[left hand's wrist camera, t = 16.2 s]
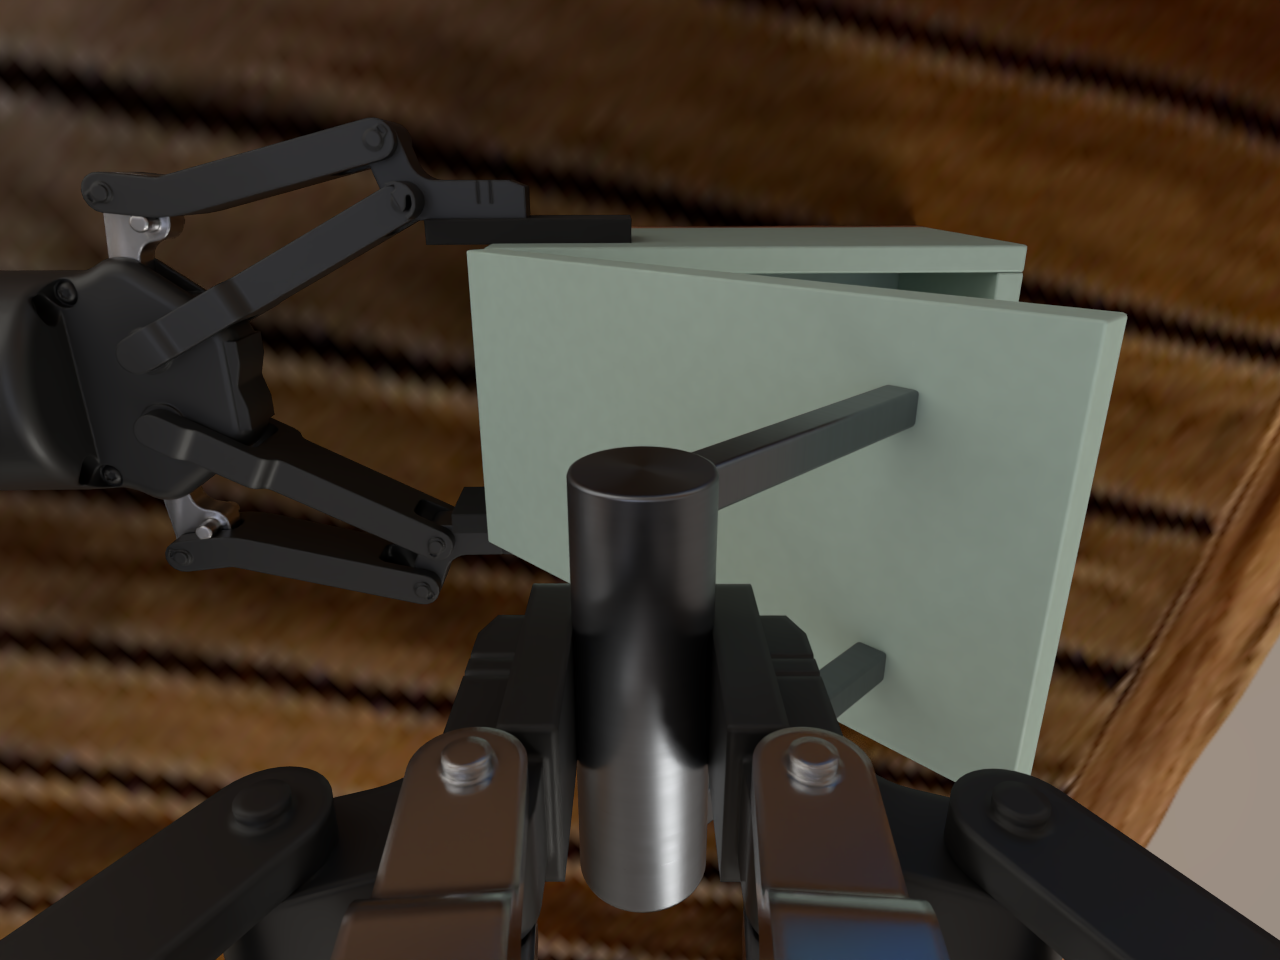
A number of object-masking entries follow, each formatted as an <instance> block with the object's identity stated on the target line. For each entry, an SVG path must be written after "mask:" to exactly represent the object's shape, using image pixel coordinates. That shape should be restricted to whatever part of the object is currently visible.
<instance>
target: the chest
mask: <svg viewBox="0 0 1280 960" xmlns="http://www.w3.org/2000/svg"><path fill="white" fill-rule="evenodd" d="M492 248H496V249H506V250H516V251H525V252H535V253H545V254H555V255H565V256H574V257H584V258H594V259H604V260H613V261H623V262H633V263H643V264H653V265H662V266H672V267H682V268H692V269H702V270H711V271H721V272H731V273H741V274H750V275H760V276H770V277H780V278H790V279H799V280H809V281H819V282H829V283H838V284H848V285H858V286H868V287H878V288H887V289H897V290H907V291H917V292H926V293H936V294H946V295H956V296H966V297H975V298H985V299H995V300H1005V301H1014V302H1018V301H1019V295H1020V289H1021V283H1022V276H1023V274H1022V273H1021V272H1022V271H1023V269H1024V263H1025V257H1026V251H1027V246H1026V245H1023V244H1017V243H1011V242H1005V241H1000V240H994V239H988V238H983V237H977V236H971V235H966V234H960V233H954V232H948V231H943V230H937V229H931V228H926V227H923V226H918V225H891V226H631V243H533V244H491V245H489V246H488V247H486V248H485V249H492Z"/></svg>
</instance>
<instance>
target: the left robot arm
mask: <svg viewBox="0 0 1280 960" xmlns="http://www.w3.org/2000/svg"><path fill="white" fill-rule="evenodd" d="M707 765H708V774H709V783H710V792H711V801H712V810H713V819H714V828H715V837H716V846H717V855H718V864H719V873H720V881H721V882H741V887H742V894H743V901H744V910H743V927H742V951H743V960H1062V958H1063V959H1065V960H1280V940H1278V939H1277V938H1275V937H1274V936H1272V935H1271V934H1270V933H1268V932H1267V931H1265V930H1264V929H1262V928H1261V927H1259V926H1258V925H1256V924H1255V923H1253V922H1252V921H1250V920H1249V919H1248V918H1246V917H1245V916H1243V915H1242V914H1240V913H1239V912H1237V911H1236V910H1234V909H1233V908H1231V907H1230V906H1229V905H1227V904H1226V903H1224V902H1223V901H1221V900H1220V899H1218V898H1217V897H1215V896H1214V895H1212V894H1211V893H1209V892H1208V891H1207V890H1205V889H1204V888H1202V887H1201V886H1199V885H1198V884H1196V883H1195V882H1193V881H1192V880H1190V879H1189V878H1187V877H1186V876H1185V875H1183V874H1182V873H1180V872H1179V871H1177V870H1176V869H1174V868H1173V867H1171V866H1170V865H1169V864H1167V863H1166V862H1164V861H1163V860H1161V859H1160V858H1158V857H1157V856H1155V855H1154V854H1152V853H1151V852H1149V851H1148V850H1147V849H1145V848H1144V847H1142V846H1141V845H1139V844H1138V843H1136V842H1135V841H1133V840H1132V839H1130V838H1129V837H1128V836H1126V835H1125V834H1123V833H1122V832H1120V831H1119V830H1117V829H1116V828H1114V827H1113V826H1111V825H1110V824H1108V823H1107V822H1106V821H1104V820H1103V819H1101V818H1100V817H1098V816H1097V815H1095V814H1094V813H1092V812H1091V811H1089V810H1088V809H1087V808H1085V807H1084V806H1082V805H1081V804H1079V803H1078V802H1076V801H1075V800H1073V799H1072V798H1070V797H1069V796H1067V795H1066V794H1065V793H1063V792H1062V791H1060V790H1059V789H1057V788H1055V787H1054V786H1052V785H1050V784H1048V783H1046V782H1044V781H1042V780H1040V779H1038V778H1035V777H1033V776H1030V775H1028V774H1024V773H1020V772H1017V771H1012V770H1006V769H994V768H993V769H981V770H975V771H972V772H969V773H967V774H965V775H963V776H962V777H960V778H959V779H958V780H957V781H956V782H955V783H954V785H953V787H952V789H951V795H950V798H949V797H945V796H941V795H937V794H932V793H928V792H924V791H919V790H915V789H911V788H908V787H904V786H900V785H898V784H895V783H893V782H890V781H888V780H886V779H884V778H882V777H880V776H878V775H876V774H875V771H874V768H873V765H872V763H871V761H870V759H869V758H868V756H867V755H866V754H865V752H864V751H863V750H862V749H861V748H860V747H858V746H857V745H856V744H855V743H853V742H852V741H850V740H848V739H847V738H845V737H843V735H842V732H841V729H840V726H839V724H838V721H837V718H836V715H835V712H834V710H833V707H832V704H831V701H830V699H829V696H828V693H827V690H826V687H825V685H824V682H823V679H822V676H820V671H819V668H818V665H817V662H816V660H815V659H814V654H813V651H812V648H811V646H810V643H809V640H808V637H807V635H806V633H805V632H804V631H803V630H802V629H801V628H799V627H798V626H797V625H796V624H795V623H794V622H793V621H792V620H791V619H789V618H788V617H787V616H786V615H759V611H758V607H757V603H756V600H755V596H754V592H753V589H752V585H751V584H716V586H715V615H714V625H713V628H712V646H711V674H710V702H709V730H708V758H707ZM576 769H577V732H576V703H575V675H574V646H573V625H572V617H571V590H570V584H533V586H532V590H531V593H530V597H529V601H528V605H527V609H526V613H525V615H498V616H497V617H496V618H495V619H494V620H492V621H491V622H490V623H489V624H488V625H487V626H486V627H485V628H484V629H483V630H481V631H480V632H479V633H478V636H477V639H476V641H475V644H474V647H473V650H472V653H471V658H470V659H469V661H468V664H467V667H466V670H465V676H463V679H462V681H461V684H460V687H459V690H458V693H457V696H456V699H455V701H454V704H453V707H452V710H451V713H450V716H449V719H448V721H447V724H446V727H445V730H444V733H443V734H442V735H439V736H437V737H435V738H433V739H432V740H430V741H428V742H427V743H426V744H424V745H423V746H422V747H420V748H419V749H418V751H417V752H416V753H415V754H414V755H413V756H412V758H411V759H410V761H409V763H408V766H407V768H406V772H405V776H404V778H402V779H400V780H398V781H395V782H392V783H390V784H387V785H384V786H381V787H377V788H374V789H369V790H365V791H361V792H357V793H352V794H348V795H344V796H339V797H335V798H333V794H332V788H331V786H330V784H329V782H328V780H327V779H326V778H325V777H324V776H323V775H321V774H319V773H318V772H316V771H313V770H311V769H307V768H302V767H290V766H289V767H277V768H271V769H266V770H262V771H259V772H255V773H253V774H250V775H247V776H245V777H243V778H241V779H239V780H236V781H234V782H233V783H231V784H229V785H228V786H226V787H224V788H223V789H221V790H220V791H218V792H217V793H215V794H214V795H213V796H211V797H210V798H208V799H207V800H205V801H204V802H202V803H201V804H199V805H198V806H196V807H195V808H194V809H192V810H191V811H189V812H188V813H186V814H185V815H183V816H182V817H180V818H179V819H177V820H176V821H174V822H173V823H172V824H170V825H169V826H167V827H166V828H164V829H163V830H161V831H160V832H158V833H157V834H155V835H154V836H153V837H151V838H150V839H148V840H147V841H145V842H144V843H142V844H141V845H139V846H138V847H136V848H135V849H133V850H132V851H131V852H129V853H128V854H126V855H125V856H123V857H122V858H120V859H119V860H117V861H116V862H114V863H113V864H112V865H110V866H109V867H107V868H106V869H104V870H103V871H101V872H100V873H98V874H97V875H95V876H94V877H92V878H91V879H90V880H88V881H87V882H85V883H84V884H82V885H81V886H79V887H78V888H76V889H75V890H73V891H72V892H71V893H69V894H68V895H66V896H65V897H63V898H62V899H60V900H59V901H57V902H56V903H54V904H53V905H51V906H50V907H49V908H47V909H46V910H44V911H43V912H41V913H40V914H38V915H37V916H35V917H34V918H32V919H31V920H29V921H28V922H27V923H25V924H24V925H22V926H21V927H19V928H18V929H16V930H15V931H13V932H12V933H10V934H9V935H8V936H6V937H5V938H3V939H2V940H0V960H215V959H217V958H218V957H219V956H220V955H221V954H222V953H223V954H224V958H225V960H537V954H538V925H537V919H538V917H539V914H540V910H541V905H542V898H543V890H544V883H545V881H565V874H566V864H567V854H568V845H569V835H570V826H571V816H572V807H573V797H574V788H575V778H576Z"/></svg>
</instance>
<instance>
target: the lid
mask: <svg viewBox="0 0 1280 960" xmlns="http://www.w3.org/2000/svg"><path fill="white" fill-rule="evenodd" d="M467 262H468V276H469V289H470V302H471V315H472V329H473V342H474V355H475V368H476V381H477V395H478V408H479V421H480V434H481V448H482V461H483V474H484V487H485V500H486V514H487V527H488V540H489V542H491V543H493V544H495V545H497V546H498V547H500V548H502V549H504V550H506V551H508V552H510V553H512V554H514V555H516V556H518V557H520V558H522V559H524V560H526V561H528V562H529V563H531V564H533V565H535V566H537V567H539V568H541V569H543V570H545V571H547V572H549V573H551V574H553V575H555V576H557V577H559V578H561V579H562V580H564V581H566V582H568V583H570V590H571V617H572V625H573V646H574V675H575V703H576V732H577V780H578V807H579V835H580V862H581V870H582V873H583V876H584V879H585V880H586V882H587V884H588V886H589V887H590V888H591V890H592V891H593V892H594V893H595V894H596V895H597V896H598V897H599V898H601V899H602V900H603V901H605V902H606V903H608V904H610V905H612V906H614V907H616V908H619V909H622V910H626V911H632V912H643V913H644V912H655V911H661V910H664V909H667V908H670V907H672V906H675V905H677V904H678V903H680V902H682V901H683V900H685V899H686V898H687V897H689V896H690V895H691V893H692V892H693V891H694V890H695V889H696V887H697V886H698V885H699V883H700V881H701V879H702V877H703V874H704V871H705V866H706V842H707V824H708V823H710V822H711V821H712V820H713V810H712V801H711V792H710V783H709V774H708V765H707V758H708V730H709V702H710V674H711V646H712V628H713V625H714V615H715V586H716V584H751V585H752V589H753V592H754V596H755V600H756V603H757V607H758V611H759V615H786V616H787V617H788V618H789V619H791V620H792V621H793V622H794V623H795V624H796V625H797V626H798V627H799V628H801V629H802V630H803V631H804V632H805V633H806V635H807V637H808V640H809V643H810V646H811V648H812V651H813V654H814V659H815V660H816V662H817V665H818V668H819V671H820V676H822V679H823V682H824V685H825V687H826V690H827V693H828V696H829V699H830V701H831V704H832V707H833V710H834V712H835V715H836V718H837V721H838V722H840V723H842V724H844V725H846V726H848V727H850V728H852V729H854V730H855V731H857V732H859V733H861V734H863V735H865V736H867V737H869V738H871V739H873V740H875V741H877V742H879V743H881V744H883V745H885V746H887V747H888V748H890V749H892V750H894V751H896V752H898V753H900V754H902V755H904V756H906V757H908V758H910V759H912V760H914V761H916V762H918V763H919V764H921V765H923V766H925V767H927V768H929V769H931V770H933V771H935V772H937V773H939V774H941V775H943V776H945V777H947V778H949V779H951V780H952V781H954V782H956V781H957V780H958V779H959V778H960V777H962V776H963V775H965V774H967V773H969V772H972V771H975V770H981V769H993V768H994V769H1006V770H1012V771H1017V772H1020V773H1024V774H1028V775H1031V770H1032V766H1033V761H1034V756H1035V752H1036V747H1037V742H1038V737H1039V733H1040V728H1041V723H1042V718H1043V714H1044V709H1045V704H1046V699H1047V695H1048V690H1049V685H1050V680H1051V676H1052V671H1053V666H1054V662H1055V657H1056V652H1057V647H1058V643H1059V638H1060V633H1061V628H1062V624H1063V619H1064V614H1065V609H1066V605H1067V600H1068V595H1069V590H1070V586H1071V581H1072V576H1073V572H1074V567H1075V562H1076V557H1077V553H1078V548H1079V543H1080V538H1081V534H1082V529H1083V524H1084V519H1085V515H1086V510H1087V505H1088V500H1089V496H1090V491H1091V486H1092V482H1093V477H1094V472H1095V467H1096V463H1097V458H1098V453H1099V448H1100V444H1101V439H1102V434H1103V429H1104V425H1105V420H1106V415H1107V410H1108V406H1109V401H1110V396H1111V392H1112V387H1113V382H1114V377H1115V373H1116V368H1117V363H1118V358H1119V354H1120V349H1121V344H1122V339H1123V335H1124V330H1125V325H1126V320H1127V315H1126V314H1125V313H1122V312H1112V311H1102V310H1093V309H1083V308H1073V307H1063V306H1054V305H1044V304H1034V303H1024V302H1014V301H1005V300H995V299H985V298H975V297H966V296H956V295H946V294H936V293H926V292H917V291H907V290H897V289H887V288H878V287H868V286H858V285H848V284H838V283H829V282H819V281H809V280H799V279H790V278H780V277H770V276H760V275H750V274H741V273H731V272H721V271H711V270H702V269H692V268H682V267H672V266H662V265H653V264H643V263H633V262H623V261H613V260H604V259H594V258H584V257H574V256H565V255H555V254H545V253H535V252H525V251H516V250H506V249H496V248H492V249H479V250H469V251H467Z"/></svg>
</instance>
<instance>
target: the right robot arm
mask: <svg viewBox="0 0 1280 960" xmlns="http://www.w3.org/2000/svg"><path fill="white" fill-rule="evenodd" d="M369 169H371V170H372V172H373V174H374V177H375V179H376V181H377V183H378V185H379V188H380V190H378V191H376V192H375V193H373V194H371V195H370V196H368V197H366V198H365V199H363V200H361V201H360V202H358V203H356V204H355V205H353V206H351V207H350V208H348V209H346V210H345V211H343V212H341V213H340V214H338V215H336V216H335V217H333V218H331V219H330V220H328V221H326V222H325V223H323V224H321V225H319V226H318V227H316V228H314V229H313V230H311V231H309V232H308V233H306V234H304V235H303V236H301V237H299V238H298V239H296V240H294V241H293V242H291V243H289V244H288V245H286V246H284V247H283V248H281V249H279V250H278V251H276V252H274V253H273V254H271V255H269V256H268V257H266V258H264V259H262V260H261V261H259V262H257V263H256V264H254V265H252V266H251V267H249V268H247V269H246V270H244V271H242V272H241V273H239V274H237V275H236V276H234V277H232V278H230V279H228V280H226V281H224V282H222V283H220V284H218V285H216V286H214V287H212V288H210V289H208V290H205V289H204V288H202V287H201V286H199V285H198V284H196V283H194V282H193V281H191V280H190V279H188V278H186V277H185V276H183V275H182V274H180V273H179V272H177V271H175V270H174V269H172V268H171V267H169V266H168V265H166V264H164V263H163V262H161V261H160V260H158V259H156V258H155V249H156V247H157V245H158V244H159V243H160V242H162V241H163V240H167V239H173V238H176V237H177V236H179V235H180V234H181V232H182V230H183V228H184V224H185V218H184V216H183V215H193V214H204V213H211V212H216V211H221V210H225V209H228V208H232V207H236V206H239V205H243V204H246V203H250V202H254V201H257V200H261V199H264V198H268V197H272V196H275V195H279V194H282V193H286V192H290V191H293V190H297V189H300V188H304V187H308V186H311V185H315V184H318V183H322V182H326V181H329V180H333V179H336V178H340V177H344V176H347V175H351V174H354V173H358V172H362V171H365V170H369ZM81 192H82V195H83V198H84V200H85V201H86V202H87V204H88V205H89V206H90V207H91V208H93V209H94V210H96V211H99V212H102V213H103V214H104V222H105V230H106V237H107V245H108V253H109V258H108V259H106V260H103V261H101V262H100V263H98V264H97V265H96V266H94V267H93V268H91V269H88V270H51V271H0V490H65V489H101V488H115V487H127V488H132V489H136V490H139V491H141V492H144V493H146V494H148V495H151V496H153V497H155V498H159V499H164V502H165V505H166V508H167V511H168V514H169V517H170V520H171V523H172V526H173V529H174V531H175V534H176V538H177V539H176V540H175V541H174V542H173V543H172V544H171V545H169V546H168V547H167V549H166V552H165V554H166V559H167V561H168V563H169V564H170V565H171V566H172V567H173V568H175V569H177V570H179V571H197V570H206V569H215V568H224V567H237V568H242V569H247V570H252V571H257V572H262V573H268V574H273V575H278V576H283V577H288V578H293V579H298V580H303V581H308V582H313V583H318V584H323V585H328V586H333V587H338V588H343V589H348V590H353V591H358V592H363V593H368V594H373V595H378V596H383V597H388V598H393V599H398V600H404V601H409V602H414V603H419V604H429V603H432V602H433V601H435V600H436V599H437V597H438V595H439V592H440V590H441V588H442V586H443V583H444V581H445V579H446V576H447V574H448V571H449V568H450V566H451V562H452V560H453V559H455V558H456V557H459V556H461V555H477V554H512V553H510V552H508V551H506V550H504V549H502V548H500V547H498V546H497V545H495V544H493V543H491V542H489V540H488V527H487V514H486V500H485V487H464V489H463V491H462V493H461V495H460V497H459V499H458V501H457V503H456V505H455V507H454V506H452V505H450V504H447V503H445V502H443V501H441V500H438V499H436V498H434V497H432V496H430V495H427V494H425V493H423V492H421V491H419V490H416V489H414V488H412V487H410V486H407V485H405V484H403V483H401V482H399V481H396V480H394V479H392V478H390V477H388V476H385V475H383V474H381V473H379V472H376V471H374V470H372V469H370V468H368V467H365V466H363V465H361V464H359V463H357V462H354V461H352V460H350V459H348V458H345V457H343V456H341V455H339V454H337V453H334V452H332V451H330V450H328V449H326V448H323V447H321V446H319V445H317V444H314V443H312V442H310V441H308V440H306V439H304V438H303V437H302V435H301V433H300V432H299V431H298V430H296V429H295V428H293V427H290V426H288V425H286V424H284V423H282V422H279V421H277V420H275V419H273V418H271V417H272V416H273V415H274V409H273V403H272V397H271V393H270V391H269V389H268V387H267V384H266V382H265V380H264V378H263V375H262V365H263V356H264V349H263V343H262V338H261V332H260V331H254V330H253V328H252V326H251V324H250V323H249V321H251V320H252V319H254V318H256V317H257V316H259V315H261V314H263V313H264V312H266V311H268V310H269V309H271V308H273V307H275V306H276V305H278V304H279V303H281V302H282V301H283V300H285V299H286V298H288V297H290V296H292V295H293V294H295V293H297V292H298V291H300V290H302V289H303V288H305V287H307V286H309V285H310V284H312V283H314V282H315V281H317V280H319V279H321V278H322V277H324V276H326V275H327V274H329V273H331V272H333V271H334V270H336V269H338V268H339V267H341V266H343V265H345V264H346V263H348V262H350V261H351V260H353V259H355V258H356V257H358V256H360V255H362V254H363V253H365V252H367V251H368V250H370V249H372V248H374V247H375V246H377V245H379V244H380V243H382V242H384V241H386V240H387V239H389V238H391V237H392V236H394V235H396V234H397V233H399V232H401V231H403V230H404V229H406V228H408V227H409V226H411V225H413V224H415V223H416V222H418V221H420V220H424V225H425V235H426V245H470V244H533V243H631V217H630V215H530V197H529V186H527V185H525V184H522V183H520V182H518V181H515V180H439V179H436V178H433V177H431V176H430V175H428V174H427V173H426V172H425V171H424V170H423V169H422V167H421V165H420V164H419V161H418V159H417V157H416V155H415V152H414V150H413V148H412V140H411V136H410V134H409V132H408V130H407V129H406V128H404V127H403V126H402V125H400V124H397V123H395V122H391V121H386V120H382V119H378V118H365V119H362V120H358V121H355V122H351V123H348V124H344V125H341V126H337V127H333V128H330V129H326V130H323V131H319V132H316V133H312V134H309V135H305V136H302V137H298V138H294V139H291V140H287V141H284V142H280V143H277V144H273V145H270V146H266V147H262V148H259V149H255V150H252V151H248V152H245V153H241V154H238V155H234V156H231V157H227V158H223V159H220V160H216V161H213V162H209V163H206V164H202V165H199V166H195V167H192V168H188V169H184V170H181V171H177V172H174V173H170V174H167V175H164V174H155V173H145V172H93V173H90V174H88V175H87V176H85V178H84V179H83V181H82V184H81ZM215 474H218V475H220V476H223V477H225V478H227V479H229V480H232V481H234V482H236V483H239V484H241V485H243V486H246V487H249V488H254V489H262V488H266V489H270V490H273V491H275V492H277V493H280V494H282V495H284V496H286V497H289V498H291V499H293V500H296V501H298V502H300V503H303V504H305V505H307V506H309V507H312V508H314V509H316V510H319V511H321V512H323V513H325V514H328V515H330V516H332V517H335V518H337V519H339V520H342V521H344V522H346V523H348V524H351V525H353V526H355V527H358V528H360V529H362V530H365V531H367V532H369V533H371V534H369V533H364V532H359V531H354V530H349V529H345V528H340V527H335V526H330V525H325V524H320V523H316V522H311V521H306V520H301V519H296V518H292V517H287V516H282V515H277V514H271V513H265V512H240V507H239V505H238V504H237V503H235V502H232V501H230V502H225V501H218V500H215V499H212V498H210V497H209V496H208V495H207V494H206V493H205V492H204V490H203V488H202V486H201V485H202V484H204V483H205V482H206V481H208V480H209V479H210V478H211V477H213V476H214V475H215Z"/></svg>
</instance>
